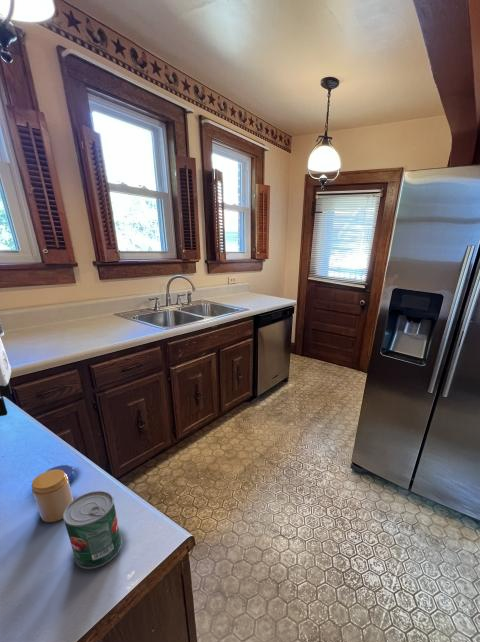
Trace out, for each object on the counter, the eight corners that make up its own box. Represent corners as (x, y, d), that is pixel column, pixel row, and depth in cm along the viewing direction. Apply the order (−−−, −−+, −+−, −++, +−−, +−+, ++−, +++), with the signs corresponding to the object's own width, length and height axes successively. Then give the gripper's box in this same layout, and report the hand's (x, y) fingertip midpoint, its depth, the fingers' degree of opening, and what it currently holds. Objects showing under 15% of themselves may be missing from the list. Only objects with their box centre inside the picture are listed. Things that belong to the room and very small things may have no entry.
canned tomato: (65, 560, 58) (51, 516, 54) (100, 526, 65) (91, 485, 60) (97, 575, 55) (86, 531, 51) (131, 539, 62) (123, 497, 58)
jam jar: (40, 527, 64) (29, 493, 60) (40, 506, 69) (30, 475, 65) (76, 514, 67) (67, 482, 64) (74, 495, 72) (65, 464, 68)
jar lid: (39, 493, 72) (37, 487, 71) (43, 474, 77) (42, 469, 77) (74, 484, 75) (72, 479, 74) (76, 467, 80) (74, 462, 80)
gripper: (-3, 340, 57) (19, 420, 63) (6, 317, 69) (24, 386, 76) (-62, 344, 52) (-31, 429, 59) (-40, 320, 65) (-17, 392, 72)
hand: (0, 405), depth 68 cm, fingers open, 9 cm apart
